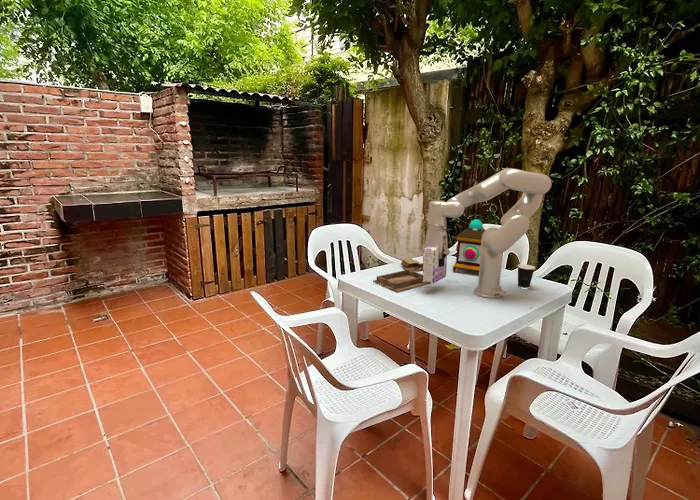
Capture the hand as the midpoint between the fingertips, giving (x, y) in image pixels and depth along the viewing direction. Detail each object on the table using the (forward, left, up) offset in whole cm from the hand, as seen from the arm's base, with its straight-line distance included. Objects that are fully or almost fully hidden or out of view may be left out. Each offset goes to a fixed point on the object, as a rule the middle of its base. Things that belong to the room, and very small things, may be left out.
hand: (435, 264), depth 175 cm
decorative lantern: (+10, -43, -13) cm, 46 cm away
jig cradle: (+17, +5, -13) cm, 22 cm away
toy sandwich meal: (+33, -19, -14) cm, 40 cm away
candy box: (0, 0, -8) cm, 8 cm away
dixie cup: (-22, -41, -13) cm, 49 cm away
